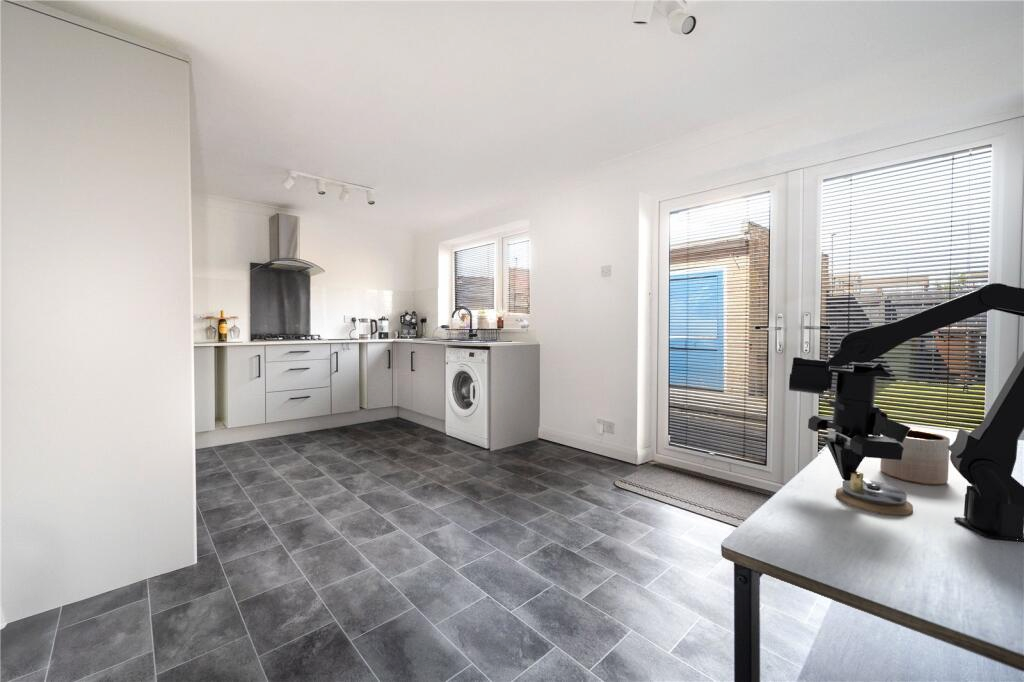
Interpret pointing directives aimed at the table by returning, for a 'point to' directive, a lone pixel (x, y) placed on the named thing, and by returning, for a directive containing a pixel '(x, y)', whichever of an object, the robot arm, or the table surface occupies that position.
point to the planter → (920, 459)
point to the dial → (873, 491)
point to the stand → (875, 505)
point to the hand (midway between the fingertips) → (846, 480)
